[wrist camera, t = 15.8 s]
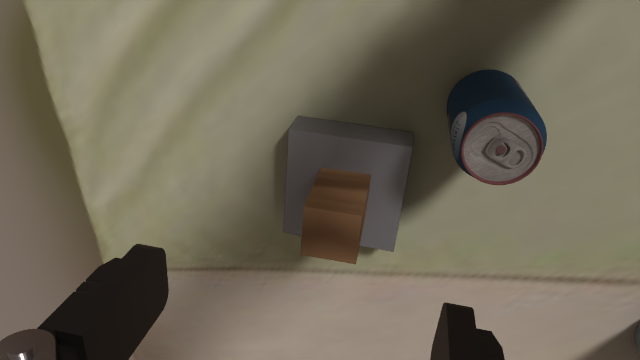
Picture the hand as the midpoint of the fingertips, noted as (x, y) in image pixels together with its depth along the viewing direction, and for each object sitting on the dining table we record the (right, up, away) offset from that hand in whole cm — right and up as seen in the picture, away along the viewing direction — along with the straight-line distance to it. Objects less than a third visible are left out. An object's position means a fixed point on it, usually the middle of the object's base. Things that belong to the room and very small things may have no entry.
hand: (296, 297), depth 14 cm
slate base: (+4, +4, +38) cm, 39 cm away
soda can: (+16, +11, +32) cm, 38 cm away
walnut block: (+3, +2, +35) cm, 35 cm away
